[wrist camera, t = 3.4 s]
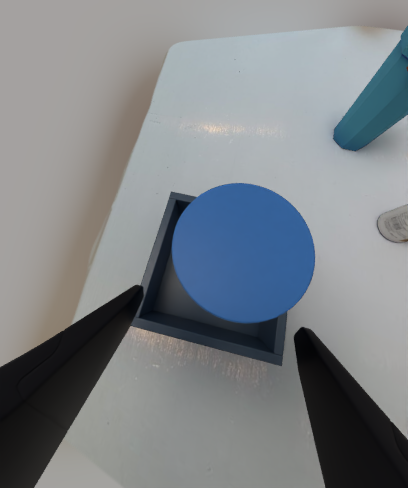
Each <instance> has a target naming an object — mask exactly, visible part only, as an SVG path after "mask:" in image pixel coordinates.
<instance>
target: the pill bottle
mask: <svg viewBox="0 0 408 488" xmlns="http://www.w3.org/2000/svg"><path fill="white" fill-rule="evenodd" d="M378 228H379V230H380V232H381V233H382V235H383V236H385V237H386V238H387V239H389V240H391V241H394V242H407V241H408V204H407V205H404V206H401V207H399V208H396V209H394V210H391V211H389V212H386V213H384V214H382V215H381V216H380V217H379V219H378Z"/></svg>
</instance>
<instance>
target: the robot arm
mask: <svg viewBox="0 0 408 488" xmlns="http://www.w3.org/2000/svg"><path fill="white" fill-rule="evenodd" d="M143 298H144V289H143V286H140V285H135V286H133V287H131V288H130V289H128V290H127V291H125V292H123V293H122V294H120V295H119V296H117V297H116V298H114V299H112V300H111V301H109V302H108V303H106V304H104V305H103V306H101V307H100V308H98V309H96V310H95V311H93V312H92V313H90V314H89V315H87V316H85V317H84V318H82V319H81V320H79V321H77V322H76V323H74V324H73V325H71V326H69V327H68V328H66V329H65V330H64V331H61V332H60V333H58V334H57V335H55V336H54V337H52V338H50V339H49V340H47V341H45V342H44V343H42V344H40V345H39V346H37V347H35V348H34V349H32V350H30V351H28V352H27V353H25V354H23V355H21V356H20V357H18V358H16V359H14V360H12V361H11V362H9V363H7V364H5V365H3V366H1V367H0V488H34V487H35V485H36V483H37V482H38V480H39V479H40V477H41V475H42V474H43V472H44V470H45V468H46V467H47V465H48V463H49V462H50V460H51V458H52V457H53V455H54V453H55V452H56V450H57V448H58V447H59V445H60V443H61V442H62V440H63V438H64V437H65V435H66V433H67V430H69V428H70V426H71V425H72V423H73V421H74V420H75V418H76V416H77V415H78V413H79V411H80V410H81V408H82V406H83V405H84V403H85V401H86V400H87V398H88V396H89V395H90V393H91V391H92V390H93V388H94V386H95V385H96V383H97V381H98V380H99V378H100V376H101V375H102V373H103V371H104V369H105V368H106V366H107V364H108V363H109V361H110V359H111V358H112V356H113V354H114V353H115V351H116V349H117V348H118V346H119V344H120V343H121V341H122V339H123V338H124V336H125V334H126V333H127V331H128V329H129V327H130V326H131V324H132V322H133V320H134V317H135V315H136V313H137V311H138V309H139V307H140V305H141V302H142V300H143ZM294 343H295V351H296V358H297V365H298V371H299V376H300V380H301V385H302V389H303V393H304V397H305V402H306V406H307V410H308V415H309V419H310V423H311V428H312V432H313V436H314V441H315V445H316V449H317V454H318V458H319V462H320V466H321V471H322V475H323V479H324V484H325V488H408V439H407V438H406V437H405V436H404V435H403V434H402V433H401V432H400V430H399V429H398V428H397V427H396V426H395V425H394V424H393V422H391V421H390V419H389V418H388V417H387V416H386V415H385V413H384V412H383V411H382V410H381V409H380V408H379V407H378V405H377V404H376V403H375V402H374V401H373V400H372V399H371V397H370V396H369V395H368V394H367V393H366V392H365V391H364V389H363V388H362V387H361V386H360V385H359V384H358V383H357V381H356V380H355V379H354V378H353V377H352V376H351V375H350V373H349V372H348V371H347V370H346V369H345V368H344V367H343V365H342V364H341V363H340V362H339V361H338V360H337V359H336V357H335V356H334V355H333V354H332V353H331V352H330V351H329V349H328V348H327V347H326V346H325V345H324V344H323V343H322V341H321V340H320V339H319V338H318V337H317V336H316V335H315V333H314V332H313V331H312V330H311V329H309V328H305V327H301V328H300V329H299V330H298V331H297V332H296V333H295V335H294Z"/></svg>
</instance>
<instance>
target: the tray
mask: <svg viewBox="0 0 408 488" xmlns="http://www.w3.org/2000/svg"><path fill="white" fill-rule="evenodd" d="M196 198H197V197H194V196H189V195H185V194H180V193H175V192H171V194H170V197H169V200H168V203H167V206H166V209H165V212H164V215H163V218H162V221H161V225H160V228H159V231H158V234H157V237H156V240H155V243H154V246H153V249H152V252H151V255H150V258H149V261H148V264H147V267H146V270H145V273H144V276H143V279H142V282H141V285H140V286H143V289H144V298H143V300H142V302H141V305H140V307H139V309H138V311H137V313H136V315H135V317H134V320H133V322H132V324H131V326H133V327H137V328H141V329H144V330H148V331H152V332H156V333H159V334H163V335H167V336H171V337H174V338H178V339H182V340H185V341H189V342H193V343H197V344H200V345H204V346H208V347H212V348H215V349H219V350H223V351H227V352H230V353H234V354H238V355H242V356H245V357H249V358H253V359H257V360H260V361H264V362H268V363H271V364H275V365H279V366H282V360H283V351H284V341H285V331H286V320H287V312H285V313H284V314H282V315H280V316H278V317H276V318H273V319H271V320H268V321H264V322H259V323H236V322H231V321H227V320H224V319H221V318H219V317H216V316H214V315H212V314H211V313H209V312H207V311H205V310H204V309H203V308H202V307H200V306H199V305H198V304H197V303H196V302H195V301H194V300H193V299H192V298H191V297H190V296H189V295H188V294H187V292H186V291H185V290H184V288H183V286H182V285H181V283H180V281H179V279H178V277H177V274H176V272H175V268H174V264H173V259H172V240H173V234H174V230H175V227H176V225H177V222H178V220H179V218H180V216H181V215H182V213H183V211H184V210H185V209H186V208H187V206H188V205H189V204H190V203H191V202H192V201H193V200H194V199H196Z"/></svg>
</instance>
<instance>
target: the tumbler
mask: <svg viewBox="0 0 408 488" xmlns="http://www.w3.org/2000/svg"><path fill="white" fill-rule="evenodd" d="M172 259H173V264H174V268H175V272H176V274H177V277H178V279H179V281H180V283H181V285H182V286H183V288H184V290H185V291H186V292H187V294H188V295H189V296H190V297H191V298H192V299H193V300H194V301H195V302H196V303H197V304H198V305H199V306H200V307H202V308H203V309H204V310H205V311H207V312H209V313H211V314H212V315H214V316H216V317H219V318H221V319H224V320H227V321H231V322H236V323H259V322H264V321H268V320H271V319H273V318H276V317H278V316H280V315H282V314H284V313H285V312H287V311H288V310H289V309H291V308H292V307H293V306H294V305H295V304H296V303H297V302H298V301H299V300H300V299H301V298H302V296H303V295H304V293H305V292H306V290H307V288H308V286H309V284H310V282H311V279H312V276H313V271H314V266H315V250H314V244H313V239H312V236H311V233H310V230H309V228H308V226H307V224H306V222H305V221H304V219H303V218H302V216H301V215H300V213H299V212H298V211H297V210H296V209H295V207H294V206H292V205H291V204H290V203H289V202H288V201H287V200H286V199H284V198H283V197H282V196H280V195H278V194H277V193H275V192H273V191H271V190H269V189H266V188H264V187H260V186H257V185H252V184H244V183H233V184H226V185H222V186H218V187H215V188H212V189H210V190H208V191H206V192H204V193H203V194H201V195H200V196H198V197H197V198H196V199H194V200H193V201H192V202H191V203H190V204H189V205H188V206H187V208H186V209H185V210H184V211H183V213H182V215H181V216H180V218H179V220H178V222H177V225H176V227H175V230H174V234H173V240H172Z"/></svg>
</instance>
